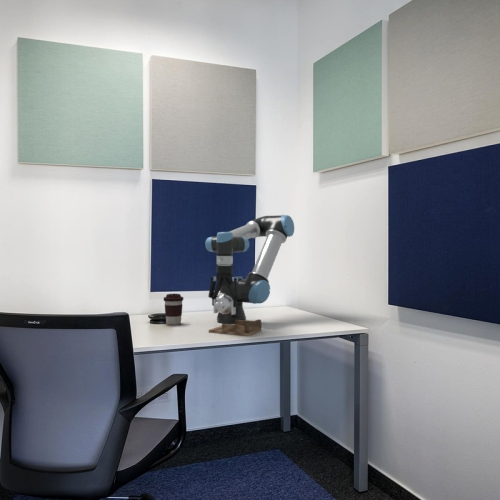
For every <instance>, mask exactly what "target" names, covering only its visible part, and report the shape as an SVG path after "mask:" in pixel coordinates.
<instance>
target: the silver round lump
mask: <svg viewBox="0 0 500 500" xmlns="http://www.w3.org/2000/svg"><path fill="white" fill-rule="evenodd" d="M231 300H233V299H232V298H231V297H230V296H228V295H226V294H225V293H220V292H219V293H218V295H217V297H216V303H215V305H214V306H215V308H216V309H217V311H218V312H220V313H221V314H228V313H230V312H231ZM214 306H213V307H214Z"/></svg>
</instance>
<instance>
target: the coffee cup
mask: <svg viewBox="0 0 500 500" xmlns="http://www.w3.org/2000/svg"><path fill="white" fill-rule="evenodd" d="M181 295H182V294H180V293H168V294H166V295H165V296H164V297H163V301H164V315H165V322H166V324H167V325H169V326H170V325H171V326H176V325H177V326H178V325H180V324H181V323H182V316H183V301H184V297H183V296H181Z"/></svg>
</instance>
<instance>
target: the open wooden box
mask: <svg viewBox="0 0 500 500" xmlns="http://www.w3.org/2000/svg"><path fill="white" fill-rule="evenodd" d="M260 332H262V319H256V320H246V321H245V320H235V323H234V324H229V323H221V325H219V326H217V327H214V328H210V329H208V333H211V334H219V335H220V334H222V335H230V336H231V335H233V336H234V335H235V336H243V337H244V336H245V337H249V336H252V335H254V334H256V333H260Z"/></svg>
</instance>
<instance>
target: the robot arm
mask: <svg viewBox="0 0 500 500" xmlns="http://www.w3.org/2000/svg"><path fill="white" fill-rule="evenodd" d="M294 233H295V223H294V219H293V218H292V217H291V216H290V215H286V214H280V215H279V214H278V215H264V216H260V217H257V218H255V219H252V220H250V221H248V222H247V223H246V224H245V225H243V226H242V225H241V226H240V227H237V228H235V229H233V230H229V231H219V232H218V231H217V234H216V236H210V237H207V238H206V239H205V243H204V244H205V245H204V246H205V249H206V250H207V251H208V252H211V253H216V276H210V285H209V291H208V298H210V299H211V305H212V306H213V314H217V316H216V322H217V323H220V324H231V325H234V324H235V320H245V321H247V316H246V313H245V310H244V306H243V303H245V304H246V303H247V304H255V305H256V304H262V303H265V302H266V301H267V300H268V298H269V297H270V294H271V285H270V283H269V282H270V281H269V279H268V278H269V275H270V274H271V273H270V272H271V270H272V267H273V266H274V263H275V261H276V258H277V256H278V254H279V251H280V248H281V246H282V244H285V242H286V241H287V238H289V237H292V236H294ZM261 237H266V238H265V241H264V243H263V245H262V248H261V250H260V252H259V255H258V258H257V260H256V262H255V264H254V266H253V268H252V271H251V272H249V273H247V275H246V277H245V279H244V278H243V276H233V270H234V269H233V268H234V267H233V264H234V263H233V262H234V260H233V259H234V257H233V253H245V252H247V251H248V250H249V248H250V241H249V239H251V238H252V239H256V238H261ZM220 293H225V294H226V295H228V296H230V297H231V298H232V299H233V300H231V312H230V313H228V314H221V313H220V312H218V311H217V309H216V308H215V306H214V305H215V303H216V297H217V296H218V295H219V294H220Z"/></svg>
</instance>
